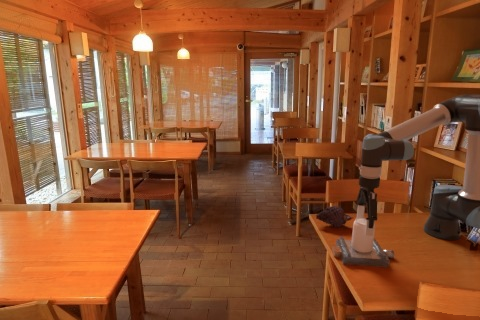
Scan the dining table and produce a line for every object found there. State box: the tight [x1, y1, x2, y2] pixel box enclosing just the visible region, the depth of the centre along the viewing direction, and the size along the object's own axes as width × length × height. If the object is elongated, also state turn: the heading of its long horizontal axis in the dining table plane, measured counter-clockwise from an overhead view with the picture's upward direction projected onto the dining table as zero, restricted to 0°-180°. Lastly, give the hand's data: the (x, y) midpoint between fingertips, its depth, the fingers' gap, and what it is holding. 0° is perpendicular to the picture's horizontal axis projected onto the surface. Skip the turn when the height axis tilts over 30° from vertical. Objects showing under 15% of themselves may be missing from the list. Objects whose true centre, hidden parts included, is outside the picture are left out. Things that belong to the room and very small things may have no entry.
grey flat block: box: [331, 235, 395, 268], centre depth 136 cm, size 23×15×4 cm, turn 85°
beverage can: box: [351, 217, 376, 253], centre depth 134 cm, size 8×8×12 cm
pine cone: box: [315, 205, 354, 228], centre depth 163 cm, size 18×10×10 cm, turn 88°
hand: (364, 227), depth 133 cm, fingers open, 13 cm apart
